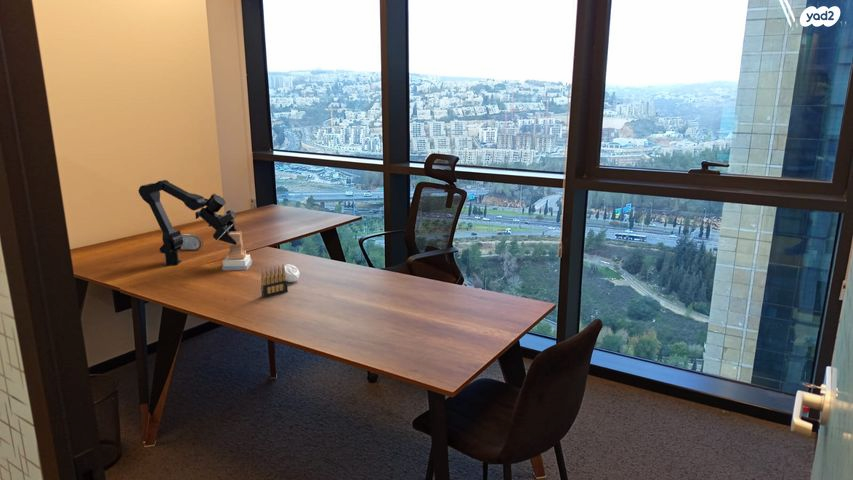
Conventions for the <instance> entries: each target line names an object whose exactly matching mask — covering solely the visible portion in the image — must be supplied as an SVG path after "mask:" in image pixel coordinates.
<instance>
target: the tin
mask: <svg viewBox="0 0 853 480" xmlns="http://www.w3.org/2000/svg"><path fill="white" fill-rule="evenodd" d="M180 233H181V235H182V237H183V238H182V239H183V244H182V246H181V249H179V250H182V251H197V250H200V249H201V248H202V247H203V245H204V240H203V237H201V236H200V235H199V234H196V233H184V232H183V233H182V232H180Z"/></svg>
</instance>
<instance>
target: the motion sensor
mask: <svg viewBox="0 0 853 480" xmlns="http://www.w3.org/2000/svg"><path fill="white" fill-rule="evenodd" d="M284 267H285V273H286V280H287V283H293V282H296V281H298V279H299V277H300V274H301V273H300V271H299V269H298V267H296V266H295V265H293V264H285V265H284ZM281 274H282V269H281Z"/></svg>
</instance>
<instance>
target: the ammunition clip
mask: <svg viewBox="0 0 853 480" xmlns="http://www.w3.org/2000/svg"><path fill="white" fill-rule="evenodd" d="M284 266H285V265H284V264H282V266H281V265H280V264H278V266H276V265H274V267H272V266H270V267H269V268H268V267H266V268H265V270H264V268H261V274H260V275H261V279H260V280H261V285H260V287H261V289H260V290H261V297H262V298H263V299H265V298H268V297H271V296H276V295H281V294H285V293H288V292H289V289H288V282H287V280H286V273H285V267H284ZM281 270H282V274H281Z"/></svg>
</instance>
